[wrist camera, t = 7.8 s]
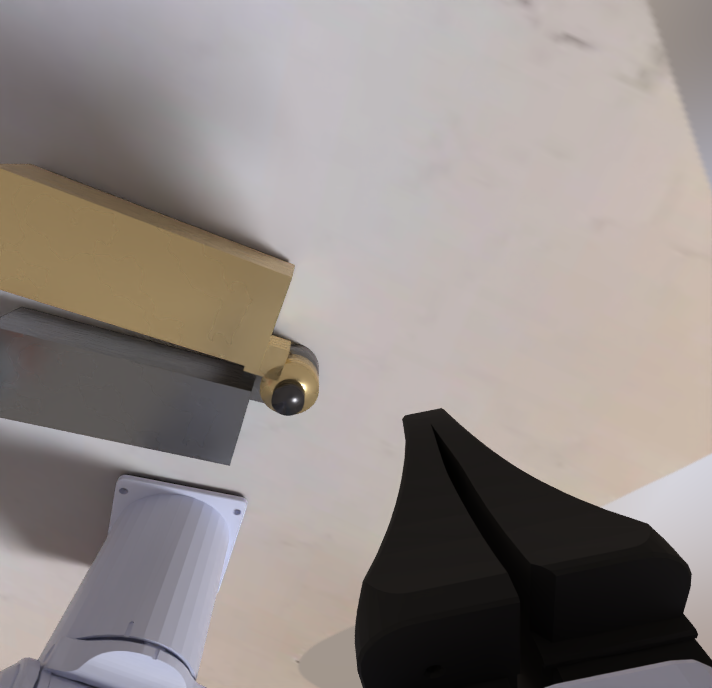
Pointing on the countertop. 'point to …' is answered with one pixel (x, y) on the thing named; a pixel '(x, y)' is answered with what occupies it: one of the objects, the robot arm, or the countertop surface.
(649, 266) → the countertop surface
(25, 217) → the swing leaf
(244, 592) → the countertop surface
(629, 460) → the countertop surface
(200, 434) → the fixed leaf
